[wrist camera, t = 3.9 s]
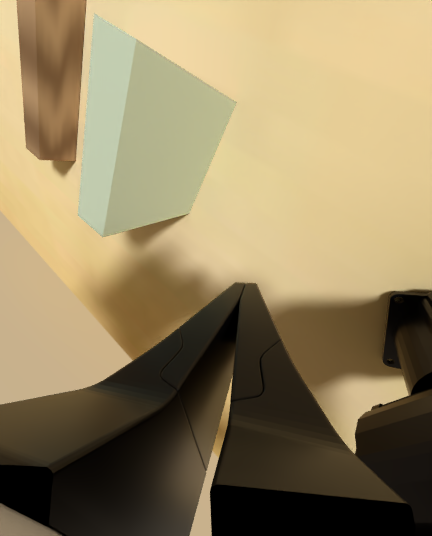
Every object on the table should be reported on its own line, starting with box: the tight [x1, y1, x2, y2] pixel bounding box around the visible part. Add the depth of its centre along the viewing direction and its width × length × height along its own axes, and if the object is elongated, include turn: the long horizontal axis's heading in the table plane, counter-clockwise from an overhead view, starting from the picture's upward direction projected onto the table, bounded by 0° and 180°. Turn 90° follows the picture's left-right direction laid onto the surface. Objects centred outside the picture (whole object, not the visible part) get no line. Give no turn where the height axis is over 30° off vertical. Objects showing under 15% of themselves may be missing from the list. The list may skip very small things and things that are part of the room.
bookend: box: [78, 13, 237, 237], centre depth 16 cm, size 12×10×10 cm
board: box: [17, 0, 86, 161], centre depth 21 cm, size 18×2×4 cm, turn 150°
